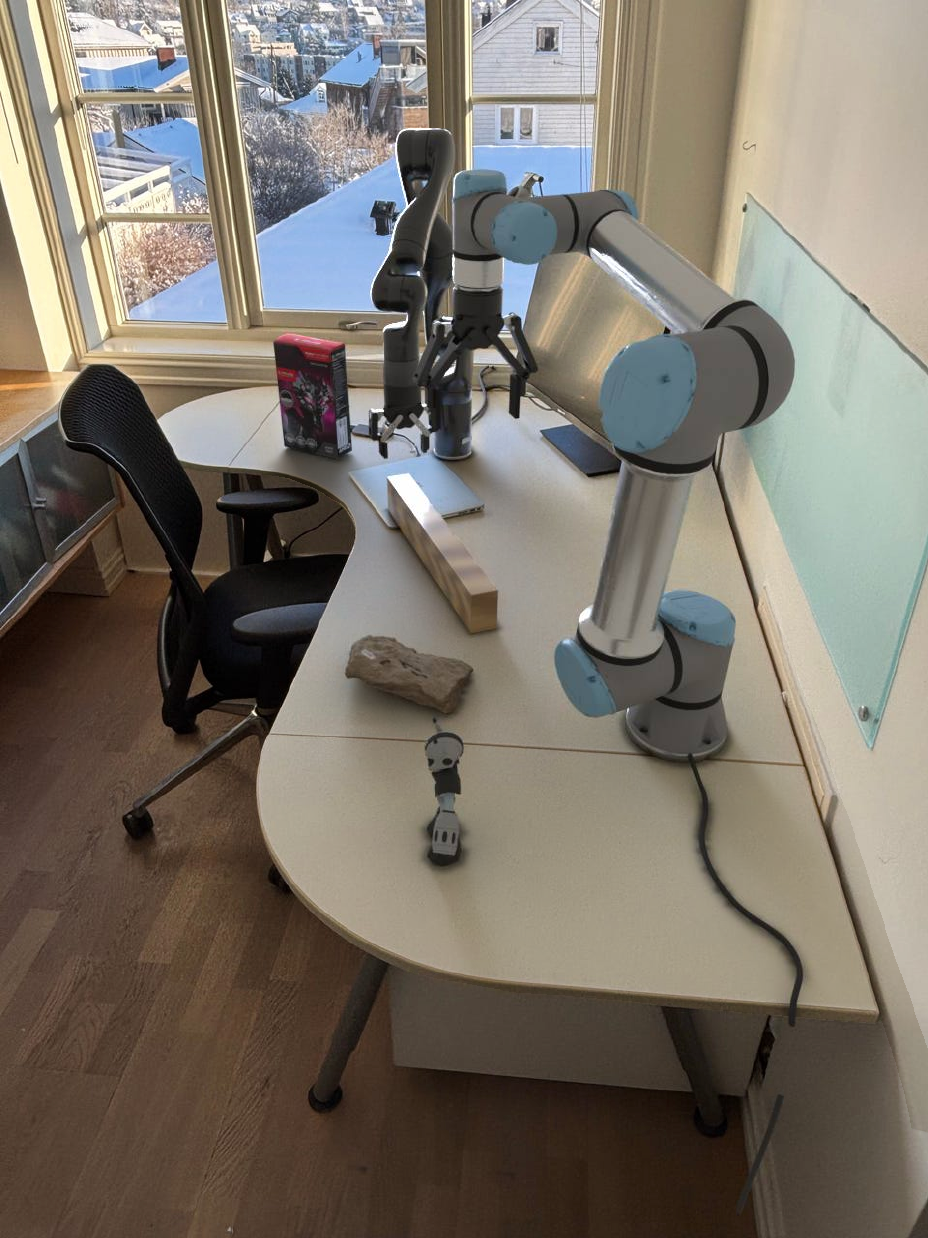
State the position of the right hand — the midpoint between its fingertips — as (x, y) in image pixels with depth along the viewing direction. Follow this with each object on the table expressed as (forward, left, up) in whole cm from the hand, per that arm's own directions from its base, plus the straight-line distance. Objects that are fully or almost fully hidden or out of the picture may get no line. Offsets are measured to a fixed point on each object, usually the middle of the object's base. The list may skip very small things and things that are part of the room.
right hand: (475, 421), depth 149 cm
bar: (+16, +12, -38) cm, 42 cm away
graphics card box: (+61, +56, -38) cm, 91 cm away
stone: (-24, +5, -38) cm, 45 cm away
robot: (-55, -11, -38) cm, 67 cm away
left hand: (+32, +23, -22) cm, 46 cm away
